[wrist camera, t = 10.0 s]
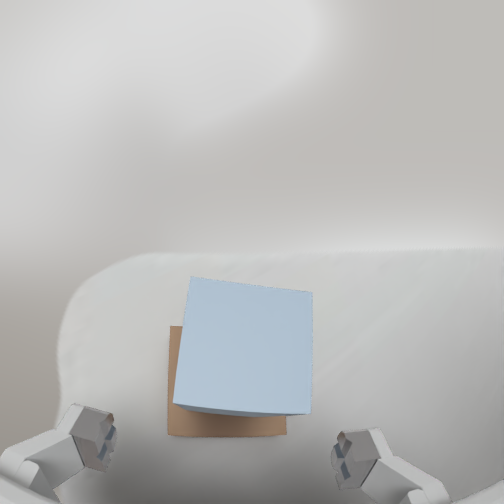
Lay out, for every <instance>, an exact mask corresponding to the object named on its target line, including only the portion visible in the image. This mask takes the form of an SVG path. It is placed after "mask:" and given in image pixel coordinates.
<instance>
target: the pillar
mask: <svg viewBox="0 0 504 504" xmlns="http://www.w3.org/2000/svg"><path fill="white" fill-rule="evenodd" d="M312 342H313V319H312V292H305V291H297V290H289V289H280V288H272V287H264V286H256V285H249V284H241V283H233V282H226V281H219V280H212V279H204V278H197V277H191V278H190V284H189V290H188V296H187V302H186V308H185V315H184V321H183V328H182V335H181V342H180V349H179V356H178V364H177V371H176V379H175V387H174V396H173V403H174V404H176V405H177V406H179V407H181V408H183V409H185V410H189V411H196V412H204V413H213V414H222V415H233V416H246V417H271V416H290V415H304V414H311V397H312Z"/></svg>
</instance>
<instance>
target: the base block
mask: <svg viewBox="0 0 504 504" xmlns="http://www.w3.org/2000/svg"><path fill="white" fill-rule="evenodd" d="M182 328H183V326H170V345H169V371H168V435H172V436H190V437H257V436H275V435H286V416H271V417H246V416H233V415H222V414H213V413H204V412H196V411H189V410H185V409H183V408H181V407H179V406H177V405H176V404H174V403H173V396H174V387H175V379H176V371H177V364H178V356H179V349H180V342H181V335H182Z"/></svg>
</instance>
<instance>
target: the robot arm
mask: <svg viewBox="0 0 504 504" xmlns="http://www.w3.org/2000/svg"><path fill="white" fill-rule="evenodd" d="M113 421H114V418H113V414H111V413H109V412H105V411H101V410H98V409H94V408H91V407H88V406H84V405H80V404H77V403H74V404H72V405H71V407H70V408H69V410H68V411H67V413H66V414H65V416H64V417H63V419H62V421H61V422H60V424H59V425H58V427H57V429H56V430H55V429H51V430H49V431H46V432H44V433H42V434H40V435H37V436H35V437H33V438H30V439H28V440H26V441H23V442H21V443H18V444H16V445H14V446H11V447H9V448H6V450H5V451H4V453H3V454H2V455H1V457H0V504H62V503H61V502H60V500H59V498H58V497H57V495H56V494H55V492H54V491H53V489H54V488H56V487H57V486H59V485H60V484H62V483H63V482H65V481H66V480H67V479H69V478H70V477H72V476H73V475H75V474H76V473H78V472H79V471H80V470H82V469H83V468H84V466H85V467H88V468H92V469H95V470H99V471H103V472H106V470H107V467H108V465H109V462H110V456H109V454H110V453H111V452H113V451H114V449H115V447H116V442H117V431H116V428H115V427H114V426H113V425H112V424H113ZM337 440H338V443H337V444H336V445H334V447H333V449H332V453H331V463H332V467H333V469H335V470H336V471H337V472H338V473H337V475H336V481H337V484H338V487H339V490H342V489H351V488H359V487H361V488H360V489H361V490H363V491H364V492H365V493H366V494H367V495H368V496H369V497H370V498H372V499H373V500H374V501H375V502H376V503H377V504H504V479H503V480H501V481H499V482H497V483H495V484H493V485H491V486H489V487H487V488H485V489H483V490H481V491H479V492H477V493H475V494H472V495H470V496H468V497H466V498H463V499H461V500H459V501H456V502H454V503H453V502H452V500H451V498H450V497H449V495H448V493H447V491H446V489H445V488H444V486H443V484H442V482H441V481H439V480H438V479H436V478H434V477H432V476H431V475H429V474H427V473H425V472H424V471H422V470H420V469H418V468H417V467H415V466H413V465H412V464H410V463H408V462H407V461H405V460H403V459H402V458H400V457H398V456H394V455H393V453H392V451H391V449H390V447H389V445H388V443H387V441H386V439H385V437H384V436H383V434H382V432H381V430H380V429H379V428H372V429H362V430H352V431H341V432H340V433H339V435H338V437H337Z"/></svg>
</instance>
